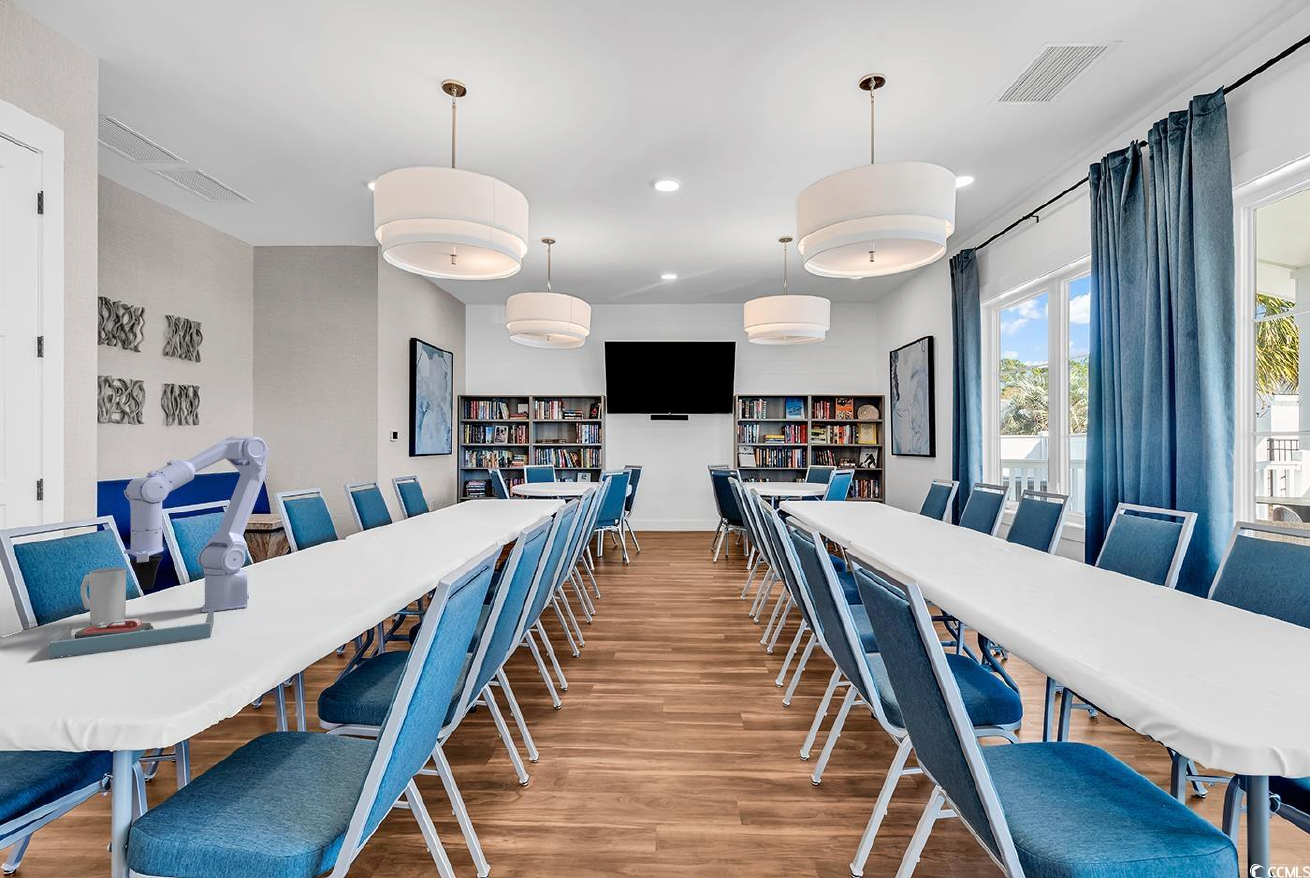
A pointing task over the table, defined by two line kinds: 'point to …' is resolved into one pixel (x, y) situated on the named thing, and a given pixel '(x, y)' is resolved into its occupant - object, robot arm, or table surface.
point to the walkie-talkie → (114, 628)
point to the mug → (105, 595)
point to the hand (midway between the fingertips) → (146, 588)
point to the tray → (128, 639)
